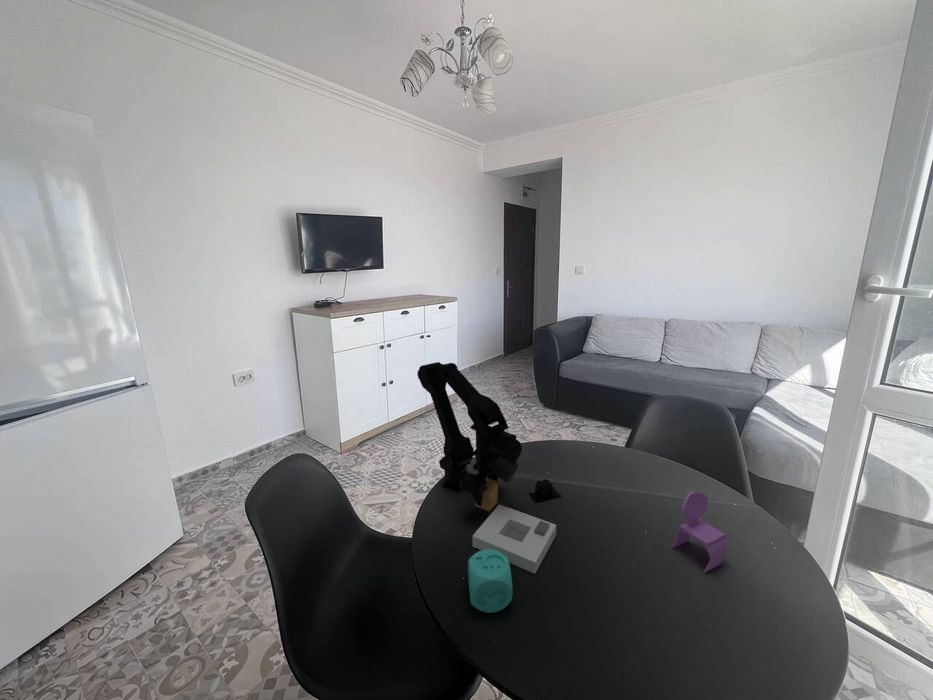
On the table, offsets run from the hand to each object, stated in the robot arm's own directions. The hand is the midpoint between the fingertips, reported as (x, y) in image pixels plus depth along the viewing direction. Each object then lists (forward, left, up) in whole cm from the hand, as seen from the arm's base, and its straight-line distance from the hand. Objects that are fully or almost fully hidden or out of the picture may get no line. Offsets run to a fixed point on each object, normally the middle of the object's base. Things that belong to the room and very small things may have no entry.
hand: (486, 497), depth 106 cm
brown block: (0, 0, -2) cm, 2 cm away
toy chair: (+51, +8, -2) cm, 52 cm away
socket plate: (+13, -9, -2) cm, 16 cm away
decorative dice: (+15, -26, -2) cm, 30 cm away
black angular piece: (+12, +12, -3) cm, 18 cm away
